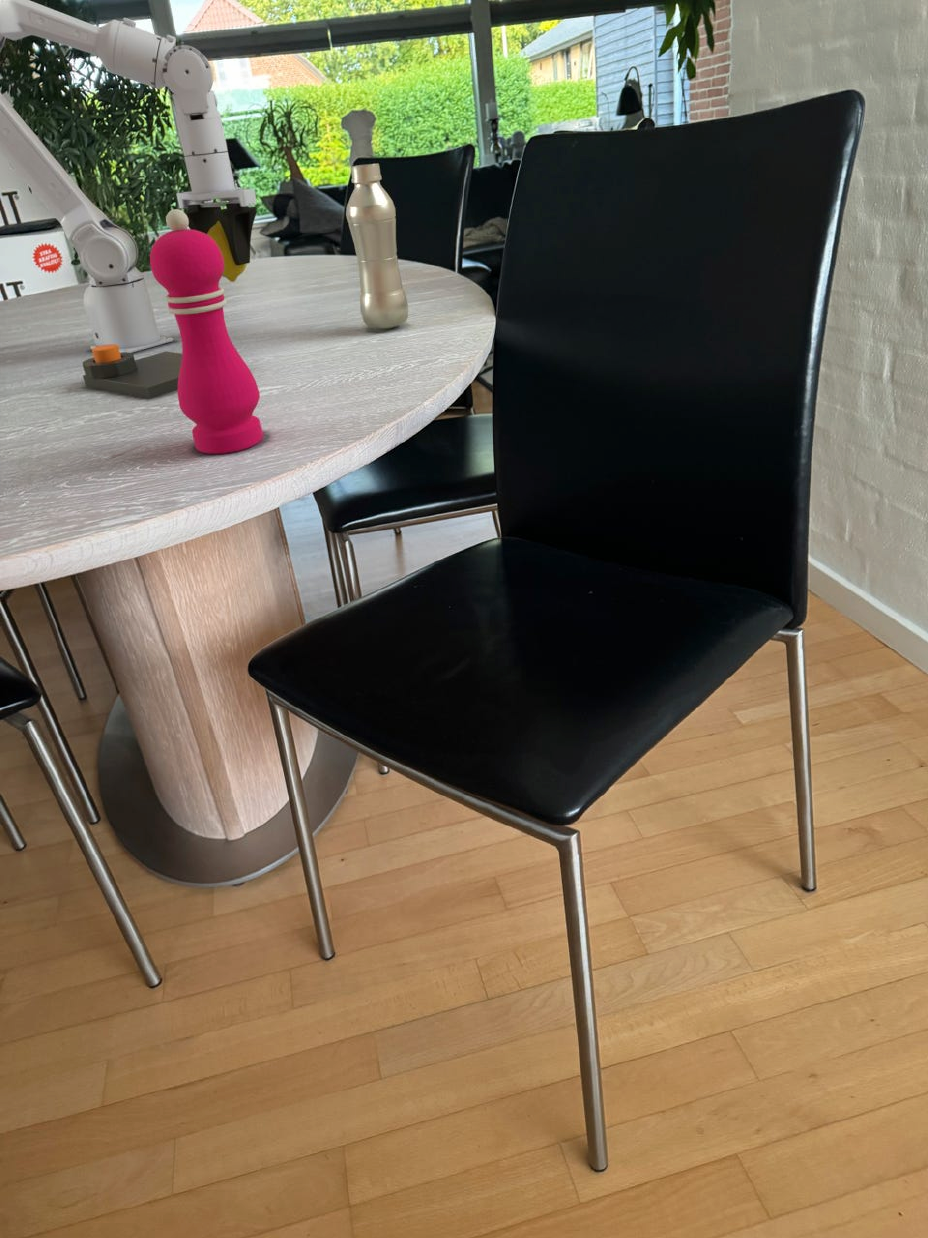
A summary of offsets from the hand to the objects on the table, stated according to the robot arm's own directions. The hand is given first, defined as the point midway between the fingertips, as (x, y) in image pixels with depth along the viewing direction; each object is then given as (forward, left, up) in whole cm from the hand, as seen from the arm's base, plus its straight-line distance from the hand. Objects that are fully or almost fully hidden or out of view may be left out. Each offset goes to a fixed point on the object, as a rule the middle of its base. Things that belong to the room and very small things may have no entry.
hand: (229, 263), depth 121 cm
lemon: (0, 0, -3) cm, 3 cm away
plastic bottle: (+21, +8, -10) cm, 24 cm away
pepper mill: (+40, -34, -10) cm, 53 cm away
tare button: (+6, -25, -7) cm, 27 cm away
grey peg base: (+11, -22, -9) cm, 26 cm away
